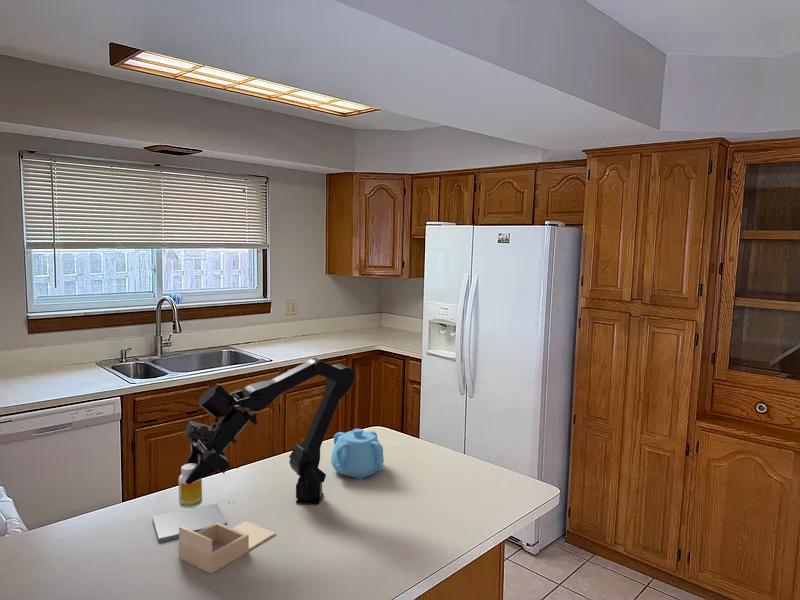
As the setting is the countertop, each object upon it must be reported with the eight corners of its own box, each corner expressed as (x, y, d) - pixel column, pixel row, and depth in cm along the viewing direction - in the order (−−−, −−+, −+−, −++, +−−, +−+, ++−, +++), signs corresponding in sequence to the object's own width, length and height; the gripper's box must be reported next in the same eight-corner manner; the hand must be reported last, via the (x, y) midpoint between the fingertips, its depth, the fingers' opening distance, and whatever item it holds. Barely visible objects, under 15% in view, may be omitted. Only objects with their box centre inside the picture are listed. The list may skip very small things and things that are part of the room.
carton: (245, 522, 145) (245, 494, 144) (276, 534, 139) (276, 505, 139) (179, 558, 128) (178, 526, 128) (211, 573, 123) (210, 540, 122)
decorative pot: (329, 482, 170) (329, 439, 169) (332, 461, 186) (333, 421, 185) (383, 482, 171) (384, 439, 170) (382, 461, 187) (383, 421, 186)
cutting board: (216, 506, 153) (216, 503, 153) (227, 526, 143) (227, 522, 143) (152, 520, 145) (152, 516, 145) (158, 542, 135) (158, 538, 135)
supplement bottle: (206, 504, 141) (205, 466, 140) (185, 511, 137) (184, 472, 136) (196, 496, 145) (195, 460, 143) (175, 503, 141) (174, 466, 140)
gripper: (196, 400, 148) (152, 448, 144) (214, 420, 132) (165, 475, 128) (227, 424, 153) (185, 472, 149) (248, 446, 137) (202, 500, 133)
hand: (184, 478), depth 139 cm, fingers closed on supplement bottle, 5 cm apart
